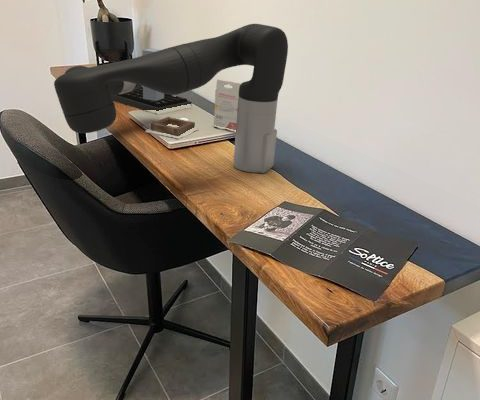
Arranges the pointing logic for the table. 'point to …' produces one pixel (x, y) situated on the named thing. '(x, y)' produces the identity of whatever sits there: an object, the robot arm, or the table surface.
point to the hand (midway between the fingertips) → (158, 69)
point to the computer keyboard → (149, 101)
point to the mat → (160, 133)
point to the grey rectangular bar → (149, 92)
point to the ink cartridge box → (226, 104)
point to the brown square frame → (176, 131)
